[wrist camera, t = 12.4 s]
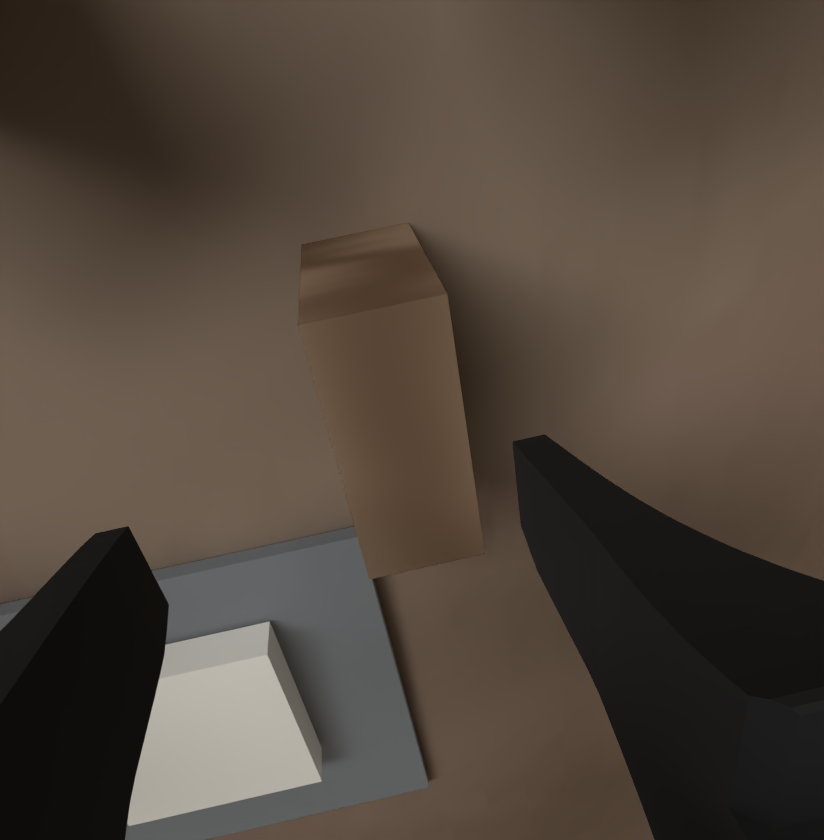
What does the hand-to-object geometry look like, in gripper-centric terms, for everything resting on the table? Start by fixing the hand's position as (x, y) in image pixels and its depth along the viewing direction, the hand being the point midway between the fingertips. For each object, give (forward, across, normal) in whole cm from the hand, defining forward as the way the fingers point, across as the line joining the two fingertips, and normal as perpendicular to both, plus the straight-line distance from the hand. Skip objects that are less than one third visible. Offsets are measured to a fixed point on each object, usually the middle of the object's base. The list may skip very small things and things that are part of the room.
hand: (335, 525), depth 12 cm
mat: (+8, +8, +15) cm, 19 cm away
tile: (+7, +8, +10) cm, 15 cm away
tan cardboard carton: (+8, -2, 0) cm, 9 cm away
